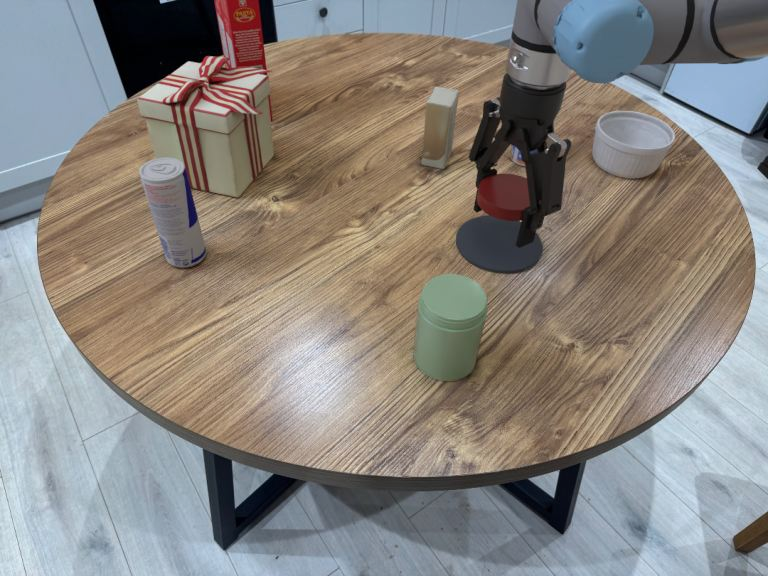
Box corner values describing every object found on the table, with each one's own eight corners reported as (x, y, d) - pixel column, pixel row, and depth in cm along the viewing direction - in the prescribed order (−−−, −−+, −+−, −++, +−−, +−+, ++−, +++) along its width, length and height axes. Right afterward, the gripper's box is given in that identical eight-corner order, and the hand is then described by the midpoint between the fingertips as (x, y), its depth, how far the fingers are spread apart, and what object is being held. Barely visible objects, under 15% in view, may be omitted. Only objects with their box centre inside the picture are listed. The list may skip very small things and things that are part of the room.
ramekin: (665, 188, 98) (681, 153, 93) (587, 177, 100) (598, 142, 95) (656, 149, 108) (670, 115, 103) (585, 139, 109) (595, 106, 104)
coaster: (560, 254, 85) (561, 251, 85) (493, 285, 80) (494, 282, 79) (502, 209, 93) (503, 206, 92) (438, 234, 87) (439, 231, 87)
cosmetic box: (429, 148, 106) (435, 84, 97) (452, 152, 105) (460, 89, 96) (420, 166, 101) (425, 101, 93) (443, 170, 100) (451, 105, 92)
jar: (489, 364, 70) (504, 304, 62) (437, 391, 67) (447, 332, 59) (450, 323, 74) (460, 263, 67) (401, 347, 71) (405, 287, 64)
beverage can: (212, 261, 82) (190, 172, 71) (173, 274, 79) (144, 184, 69) (200, 239, 85) (177, 151, 74) (162, 251, 83) (133, 162, 72)
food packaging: (272, 121, 111) (256, -19, 94) (246, 125, 110) (223, -16, 92) (254, 89, 121) (236, -44, 103) (230, 92, 119) (207, -41, 102)
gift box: (263, 203, 92) (248, 103, 80) (156, 187, 94) (126, 87, 82) (295, 149, 104) (286, 55, 92) (200, 136, 106) (180, 43, 94)
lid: (501, 177, 85) (504, 166, 84) (551, 203, 81) (554, 192, 80) (463, 200, 81) (465, 189, 79) (514, 229, 76) (516, 218, 75)
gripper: (455, 50, 73) (438, 195, 89) (580, 123, 60) (534, 277, 76) (500, 39, 76) (476, 181, 92) (628, 106, 63) (574, 258, 79)
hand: (502, 225), depth 84 cm, fingers closed on lid, 9 cm apart
